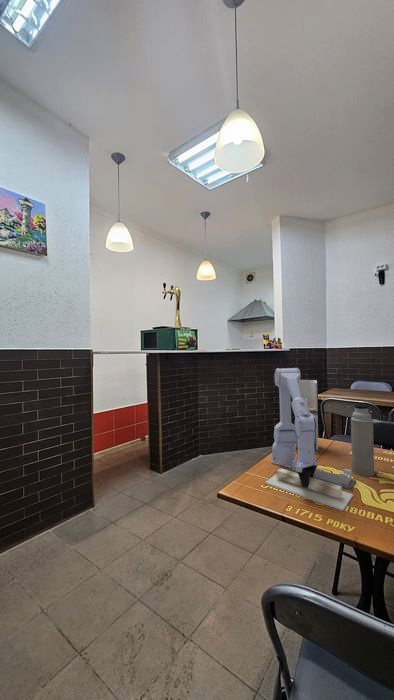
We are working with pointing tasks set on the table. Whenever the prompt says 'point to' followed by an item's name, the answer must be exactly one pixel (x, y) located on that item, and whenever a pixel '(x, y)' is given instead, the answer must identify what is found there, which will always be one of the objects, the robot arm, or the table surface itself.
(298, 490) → the mat
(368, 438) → the thermos bottle
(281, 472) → the rail
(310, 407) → the display case
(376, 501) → the table surface
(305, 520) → the table surface
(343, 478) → the rack
